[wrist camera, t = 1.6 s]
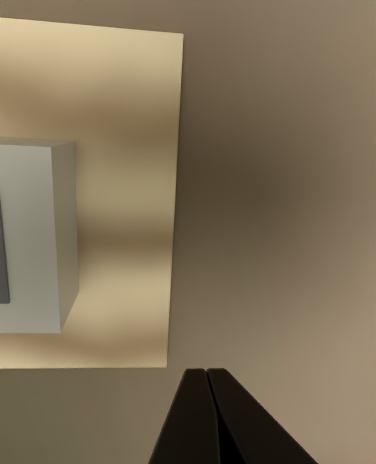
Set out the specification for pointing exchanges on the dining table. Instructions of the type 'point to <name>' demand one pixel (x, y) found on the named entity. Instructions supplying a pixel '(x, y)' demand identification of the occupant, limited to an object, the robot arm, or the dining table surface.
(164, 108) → the striped wooden cutting board
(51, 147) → the block
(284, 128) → the dining table surface
